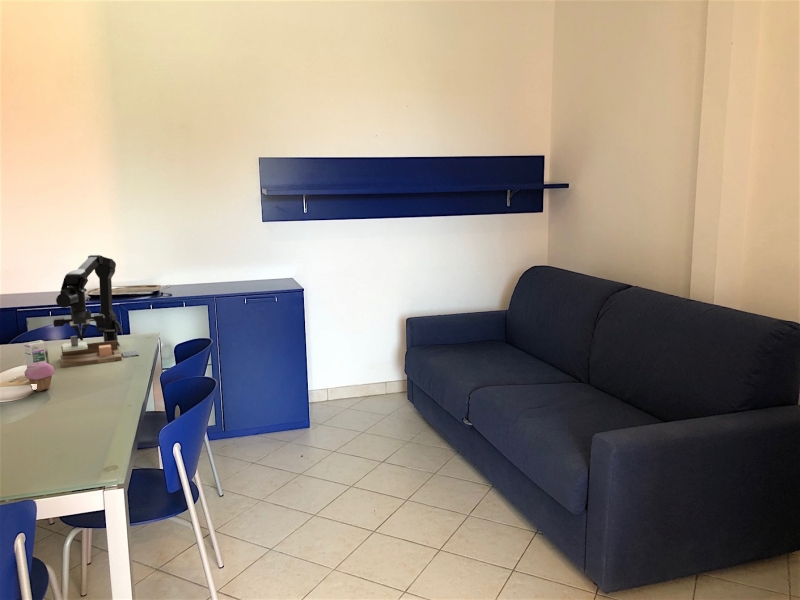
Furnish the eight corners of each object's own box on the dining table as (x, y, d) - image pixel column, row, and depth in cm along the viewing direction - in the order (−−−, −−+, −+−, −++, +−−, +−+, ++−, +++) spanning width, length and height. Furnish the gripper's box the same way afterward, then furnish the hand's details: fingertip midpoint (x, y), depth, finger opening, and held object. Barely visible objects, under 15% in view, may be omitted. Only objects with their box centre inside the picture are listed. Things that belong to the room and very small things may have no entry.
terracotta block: (99, 357, 254) (98, 345, 253) (111, 355, 256) (110, 344, 255) (100, 359, 250) (99, 348, 249) (112, 358, 252) (111, 346, 251)
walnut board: (61, 358, 252) (60, 346, 251) (118, 351, 262) (117, 339, 262) (61, 367, 238) (59, 354, 237) (121, 360, 249) (120, 347, 248)
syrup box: (34, 383, 218) (30, 344, 215) (27, 380, 221) (23, 342, 219) (51, 379, 222) (47, 341, 220) (44, 376, 226) (40, 339, 223)
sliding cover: (62, 345, 251) (61, 335, 251) (86, 343, 256) (85, 332, 255) (62, 351, 241) (61, 340, 240) (87, 349, 245) (86, 338, 245)
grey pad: (122, 353, 259) (121, 352, 259) (137, 351, 262) (136, 350, 262) (123, 357, 253) (123, 356, 252) (139, 355, 255) (138, 354, 255)
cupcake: (47, 384, 216) (44, 357, 214) (61, 388, 212) (58, 361, 210) (21, 391, 209) (18, 363, 207) (35, 395, 204) (32, 367, 203)
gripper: (51, 308, 235) (55, 347, 238) (104, 304, 244) (107, 341, 247) (51, 304, 245) (55, 341, 247) (102, 300, 254) (105, 336, 256)
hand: (81, 340), depth 249 cm, fingers closed
